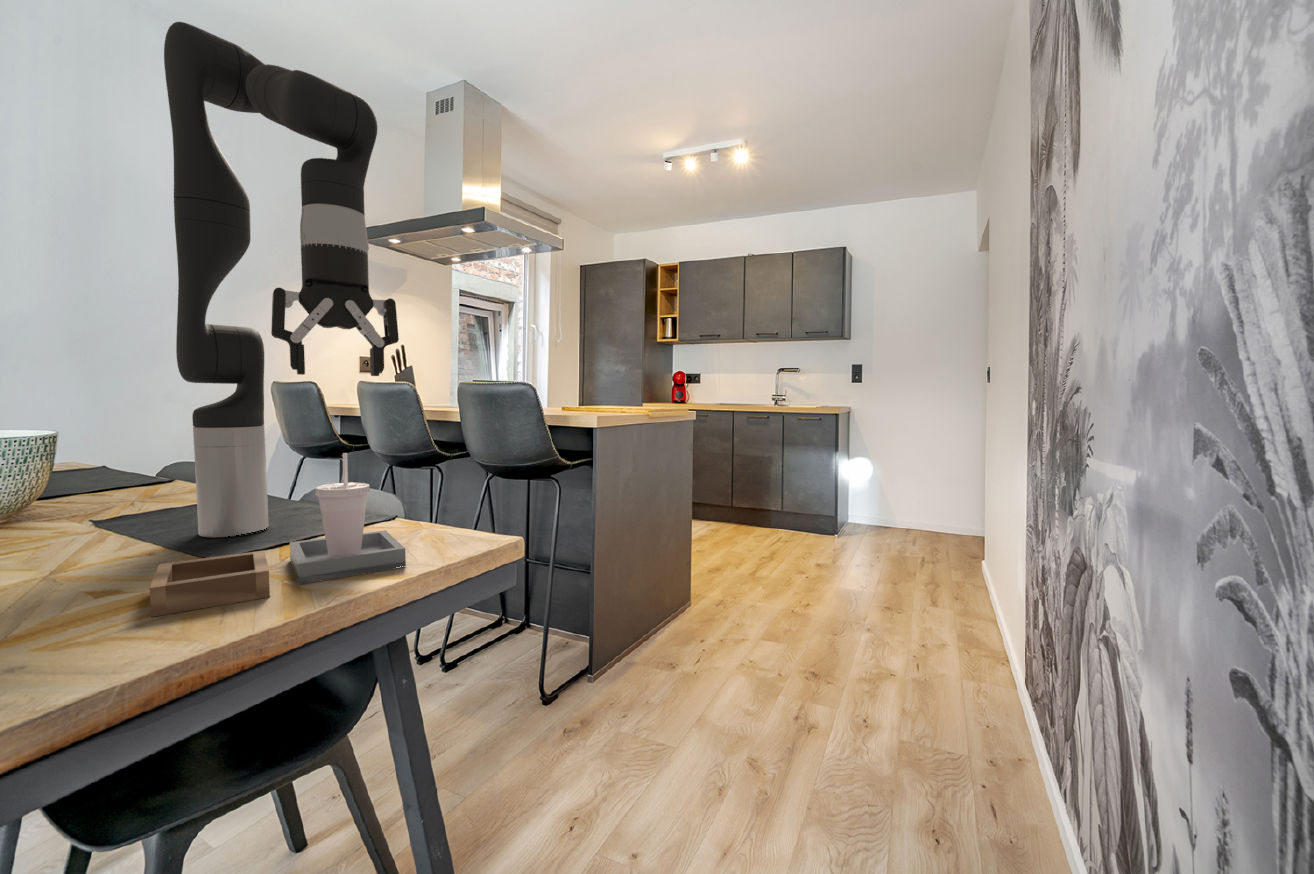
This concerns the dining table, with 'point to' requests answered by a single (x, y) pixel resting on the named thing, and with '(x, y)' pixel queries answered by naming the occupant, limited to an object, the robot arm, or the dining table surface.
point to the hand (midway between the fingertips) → (339, 375)
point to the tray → (345, 558)
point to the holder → (209, 582)
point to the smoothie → (343, 514)
